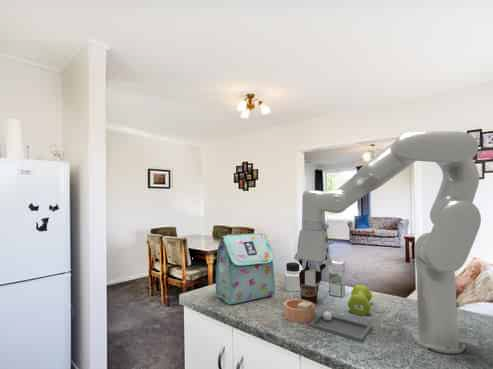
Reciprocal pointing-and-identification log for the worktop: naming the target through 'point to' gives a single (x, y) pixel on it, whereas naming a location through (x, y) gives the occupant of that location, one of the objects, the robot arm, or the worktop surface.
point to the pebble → (327, 315)
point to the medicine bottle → (292, 277)
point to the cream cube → (304, 305)
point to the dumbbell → (360, 300)
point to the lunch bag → (244, 268)
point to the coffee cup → (308, 290)
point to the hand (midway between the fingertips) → (312, 281)
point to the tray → (342, 327)
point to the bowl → (298, 311)
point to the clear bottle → (337, 278)
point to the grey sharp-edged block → (310, 277)
